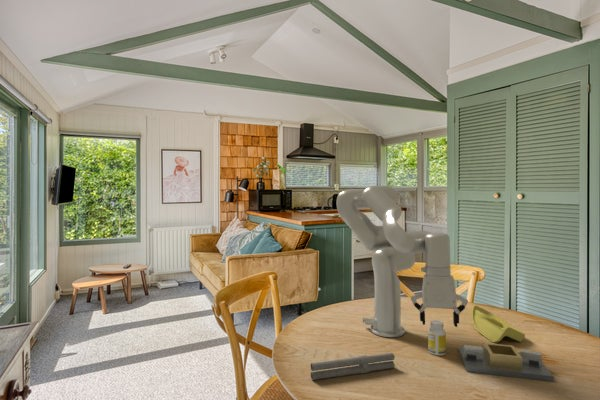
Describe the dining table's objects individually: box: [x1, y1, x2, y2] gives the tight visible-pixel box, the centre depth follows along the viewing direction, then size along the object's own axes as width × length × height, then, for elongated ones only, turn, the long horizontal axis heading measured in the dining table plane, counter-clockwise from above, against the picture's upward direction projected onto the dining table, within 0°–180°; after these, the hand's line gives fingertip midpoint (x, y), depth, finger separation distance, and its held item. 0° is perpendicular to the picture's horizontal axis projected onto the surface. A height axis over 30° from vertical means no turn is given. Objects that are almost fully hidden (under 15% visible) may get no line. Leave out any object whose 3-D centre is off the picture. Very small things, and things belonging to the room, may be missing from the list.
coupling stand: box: [458, 342, 555, 382], centre depth 108 cm, size 22×14×4 cm, turn 75°
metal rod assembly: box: [310, 352, 395, 381], centre depth 103 cm, size 26×3×5 cm, turn 105°
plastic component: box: [471, 304, 526, 344], centre depth 133 cm, size 20×7×10 cm
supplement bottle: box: [427, 319, 447, 356], centre depth 116 cm, size 5×5×10 cm
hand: (439, 324), depth 116 cm, fingers open, 9 cm apart
